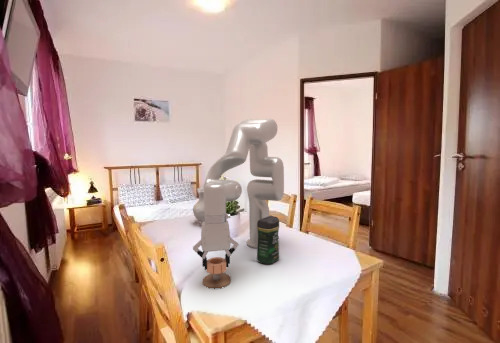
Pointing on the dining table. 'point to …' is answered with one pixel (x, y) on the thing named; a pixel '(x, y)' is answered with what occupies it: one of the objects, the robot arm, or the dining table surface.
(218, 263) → the ring
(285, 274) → the dining table surface
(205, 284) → the post stand
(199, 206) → the ceramic pitcher
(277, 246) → the coffee jar
